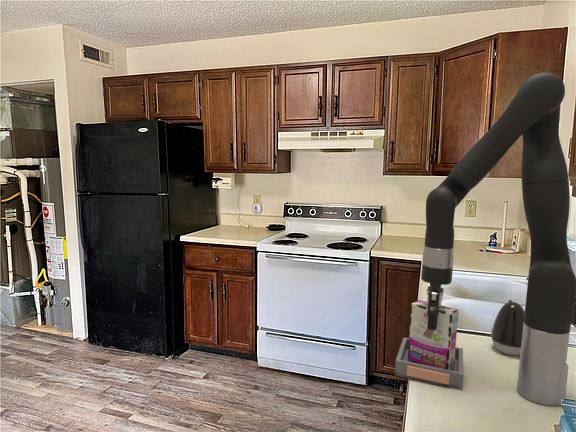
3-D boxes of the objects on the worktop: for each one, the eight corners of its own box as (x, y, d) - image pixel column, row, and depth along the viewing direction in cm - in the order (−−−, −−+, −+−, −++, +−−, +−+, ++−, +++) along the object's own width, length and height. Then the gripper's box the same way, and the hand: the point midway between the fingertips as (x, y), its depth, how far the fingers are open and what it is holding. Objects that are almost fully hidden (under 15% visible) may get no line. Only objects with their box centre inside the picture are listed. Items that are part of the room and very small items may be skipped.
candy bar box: (454, 369, 106) (459, 309, 104) (447, 375, 102) (452, 313, 100) (414, 354, 114) (418, 298, 112) (406, 360, 110) (410, 302, 108)
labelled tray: (461, 362, 112) (462, 348, 112) (461, 391, 97) (463, 375, 97) (402, 350, 118) (403, 337, 118) (394, 376, 103) (395, 361, 103)
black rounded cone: (524, 347, 123) (529, 299, 121) (532, 362, 113) (537, 310, 112) (487, 341, 127) (492, 294, 125) (492, 355, 117) (497, 305, 115)
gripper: (452, 271, 97) (447, 336, 99) (453, 260, 110) (448, 317, 112) (419, 267, 99) (415, 331, 101) (424, 256, 113) (420, 313, 114)
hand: (432, 323), depth 107 cm, fingers open, 8 cm apart
